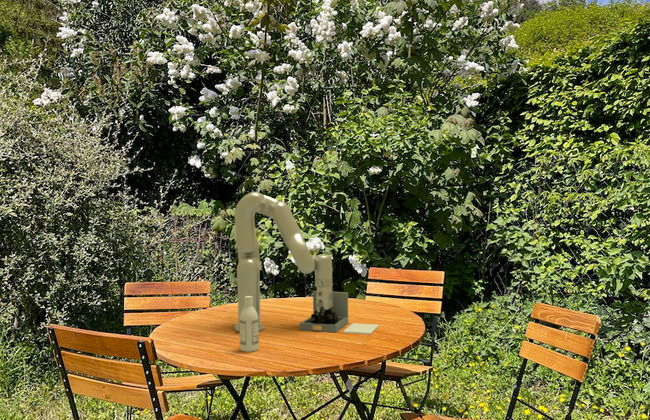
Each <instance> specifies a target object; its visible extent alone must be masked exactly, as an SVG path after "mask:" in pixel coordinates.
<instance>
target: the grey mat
mask: <svg viewBox="0 0 650 420" xmlns="http://www.w3.org/2000/svg"><path fill="white" fill-rule="evenodd" d="M379 327H380V324H374V323H373V324H372V323H370V324H369V323H360V322H359V323H358V322H357V323H356V322H355V323H354V322H352V324H350V325H349V326H348V327H346V328H345V329H344V330H343V331H342V333H345V334H357V335H370V336H371V335H372V334H373V333H374V332H375V331H376V330H377V329H379Z"/></svg>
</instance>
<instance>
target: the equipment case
mask: <svg viewBox="0 0 650 420" xmlns="http://www.w3.org/2000/svg"><path fill="white" fill-rule="evenodd" d="M332 292H333V307H332V310H330V311H332V312H335V313H336V314H337V317H338V320H337V323H336V324H334V325H330V324H314V323H311V321H313V320H314V318H311V316H309V317H308V318H307V319H304V320H303V321H301V322H300V323H299V331H304V332H305V331H307V332H320V333H321V332H322V333H337V332H339V331H340V330H341V329H343V328H344V327H346V326H347V325H348V324H349V292H348V291H347V292H346V291H345V292H344V291H343V292H342V291H332ZM316 295H317V290H313V291H312V299H313V300H312V304H313V305H312V307H313V308H312V309H313V310H312V311H313V313H312V314H314V313H315V311H317V304H316ZM321 311H323V310H321ZM324 312H325V311H324Z"/></svg>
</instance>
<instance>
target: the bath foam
mask: <svg viewBox="0 0 650 420" xmlns="http://www.w3.org/2000/svg"><path fill="white" fill-rule="evenodd" d="M252 305H253V297H252V296H245V307H244V308H243V310H242V312H241V314H240V332H239V349H240V351H242V352H244V353H247V352H248V353H249V352H250V353H253V352H256V351H258V350H259V348H260V347H259V346H260V344H259V342H260V341H259V332H260V331H258V314H257V312H256V310H255V309H254V307H253V306H252Z"/></svg>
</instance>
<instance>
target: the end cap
mask: <svg viewBox="0 0 650 420" xmlns="http://www.w3.org/2000/svg"><path fill="white" fill-rule="evenodd" d="M324 315H325V324H330V325H334V324H336V323H337V320H338V317H337V314H336V313H335V312H324ZM310 317H311V318H314V320H313V321H311V323H314V324H318V323H317V311H315V313H314V314H313V313H311V316H310Z"/></svg>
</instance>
